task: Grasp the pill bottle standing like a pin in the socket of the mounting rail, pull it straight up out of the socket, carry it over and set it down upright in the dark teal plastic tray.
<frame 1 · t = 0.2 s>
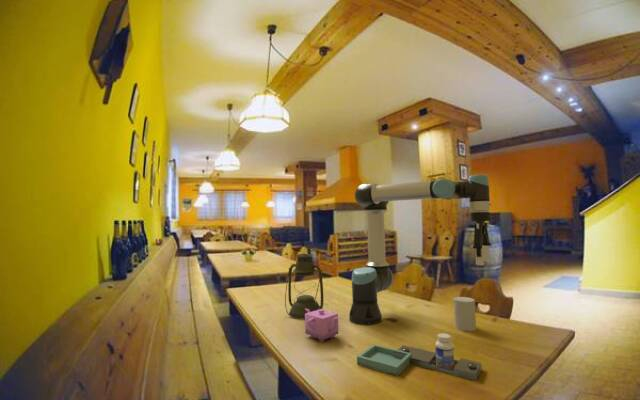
hand: (482, 263, 132), 28 cm above the table, fingers open, 13 cm apart
teapot: (321, 337, 129), on the table
lantern: (305, 314, 161), on the table
tray: (384, 362, 105), on the table
mounting rail: (445, 366, 101), on the table
pill bottle: (445, 367, 101), resting in mounting rail
cup: (465, 328, 135), on the table
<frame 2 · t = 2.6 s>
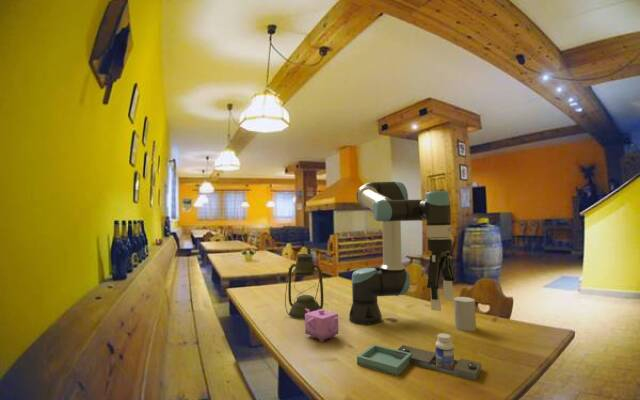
hand: (442, 305, 102), 19 cm above the table, fingers open, 13 cm apart
nothing on the table moved.
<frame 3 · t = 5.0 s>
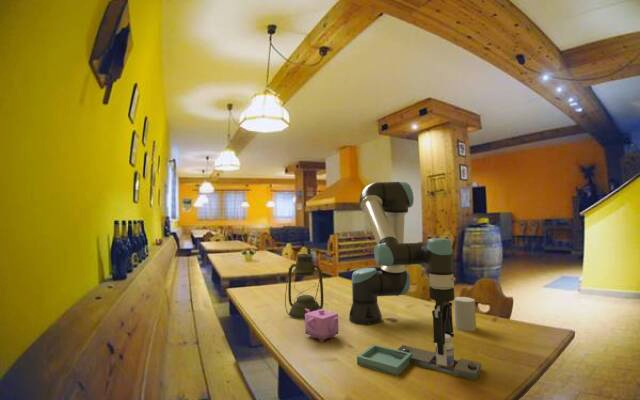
hand: (444, 360, 101), 2 cm above the table, fingers closed on pill bottle, 5 cm apart
pill bottle: (445, 367, 101), resting in mounting rail, touching gripper
everything else where it was.
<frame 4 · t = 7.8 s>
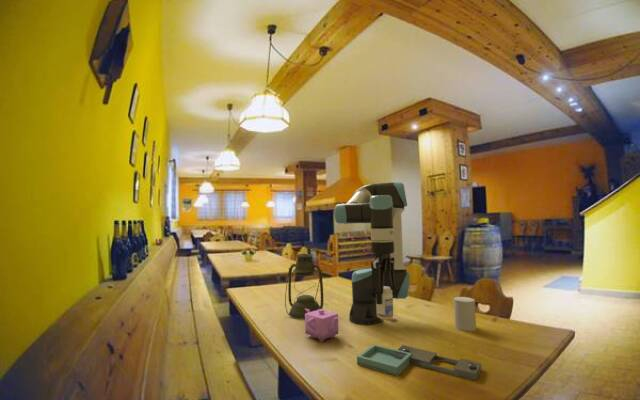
hand: (384, 311, 106), 17 cm above the table, fingers closed on pill bottle, 5 cm apart
pill bottle: (385, 317, 106), point 15 cm above the table, touching gripper
everything else where it was.
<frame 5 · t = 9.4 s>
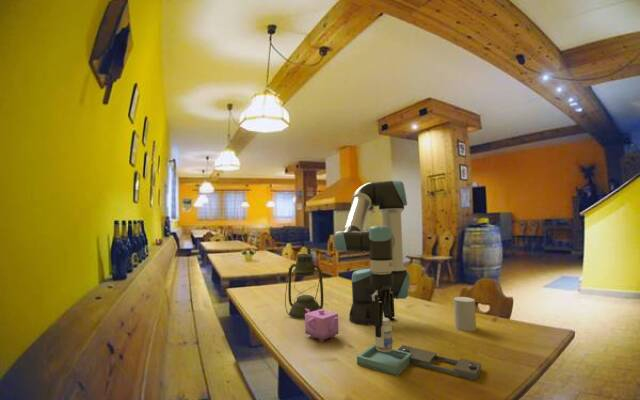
hand: (384, 343, 105), 6 cm above the table, fingers closed on pill bottle, 5 cm apart
pill bottle: (384, 349, 105), point 4 cm above the table, touching gripper
everything else where it was.
when the fingers open (4 cm above the table, at t = 10.5 s): pill bottle drops 1 cm, resting on tray.
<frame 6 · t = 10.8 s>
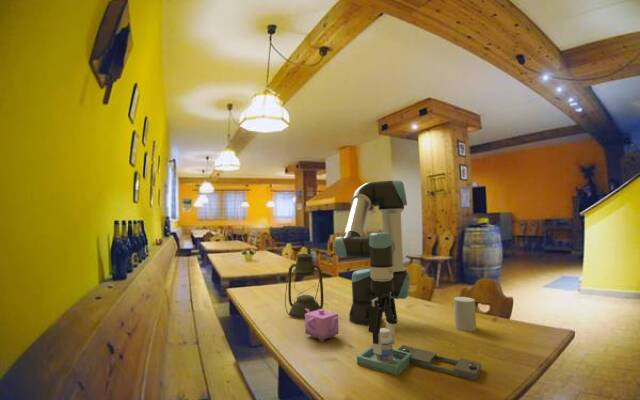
hand: (384, 348, 105), 5 cm above the table, fingers open, 9 cm apart
pill bottle: (384, 360, 105), point 1 cm above the table, touching tray
everything else where it was.
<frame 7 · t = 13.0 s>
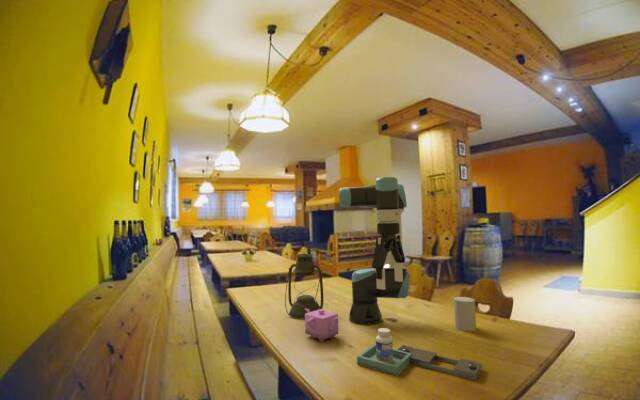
hand: (390, 285, 108), 25 cm above the table, fingers open, 13 cm apart
nothing on the table moved.
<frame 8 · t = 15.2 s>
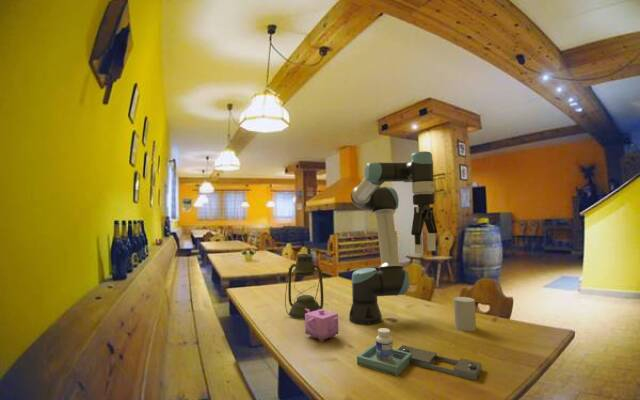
hand: (425, 252, 116), 35 cm above the table, fingers open, 13 cm apart
nothing on the table moved.
at the end: pill bottle inside the target area on the tray (0.0 cm from its centre), point 0.6 cm above the tray's base; pill bottle tilted 0°; the gripper is holding nothing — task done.
